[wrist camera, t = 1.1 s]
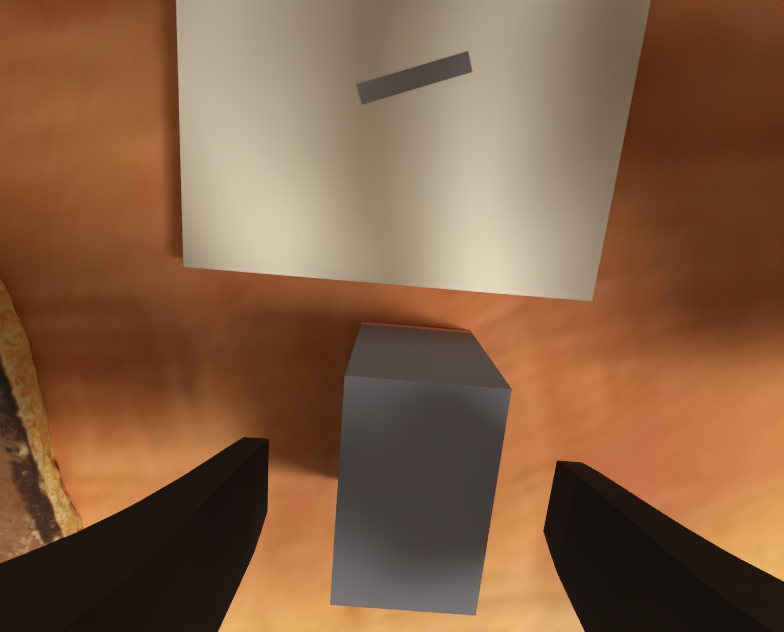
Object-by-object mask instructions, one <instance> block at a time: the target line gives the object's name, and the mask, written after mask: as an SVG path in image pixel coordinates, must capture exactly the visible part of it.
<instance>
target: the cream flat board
mask: <svg viewBox="0 0 784 632" xmlns="http://www.w3.org/2000/svg"><path fill="white" fill-rule="evenodd" d="M650 3H651V0H176V14H177V51H178V87H179V124H180V161H181V198H182V235H183V267H192V268H204V269H215V270H227V271H239V272H251V273H263V274H275V275H286V276H298V277H310V278H322V279H334V280H346V281H357V282H369V283H381V284H393V285H405V286H417V287H429V288H440V289H452V290H464V291H476V292H488V293H500V294H511V295H523V296H535V297H547V298H559V299H571V300H583V301H592V300H593V294H594V289H595V284H596V279H597V274H598V269H599V264H600V259H601V254H602V248H603V243H604V238H605V233H606V228H607V223H608V218H609V213H610V207H611V202H612V197H613V192H614V187H615V182H616V177H617V172H618V167H619V161H620V156H621V151H622V146H623V141H624V136H625V131H626V126H627V121H628V115H629V110H630V105H631V100H632V95H633V90H634V85H635V80H636V75H637V69H638V64H639V59H640V54H641V49H642V44H643V39H644V34H645V29H646V23H647V18H648V13H649V8H650Z"/></svg>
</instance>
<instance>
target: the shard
mask: <svg viewBox="0 0 784 632" xmlns="http://www.w3.org/2000/svg"><path fill="white" fill-rule="evenodd" d="M37 380H38V377H37V374H36V368H35V366H34V364H33V362H32V353H31V351H30V347H29V341H28V339H27V337H26V334H25V331H24V328H23V326H22V323H21V320H20V318H19V317H18V315H17V314H16V312H15V309H14V307H13V304H12V299H11V296H10V294H9V293H8V291H7V289H6V287H5V285H4V284H3V282H2V280H1V279H0V563H2V562H4V561H7V560H10V559H12V558H15V557H18V556H20V555H22V554H25V553H27V552H30V551H32V550H35V549H37V548H39V547H42V546H44V545H47V544H49V543H52V542H54V541H56V540H59V539H61V538H64V537H66V536H69V535H71V534H73V533H76V532H78V531H80V530H82V529H83V524H82V519H81V516H80V515H79V514H78V512H77V511H76V509H75V508H74V507H73V505H72V503H71V502H70V496H69V495H68V493H67V491H66V489H65V487H64V486H63V484H62V482H61V481H60V474H59V471H58V469H57V467H56V465H55V456H54V452H53V445H52V442H51V438H50V436H49V429H48V420H47V414H46V410H45V407H44V405H43V398H42V393H41V390H40V388H39V385H38V381H37Z"/></svg>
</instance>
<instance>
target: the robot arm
mask: <svg viewBox="0 0 784 632" xmlns="http://www.w3.org/2000/svg"><path fill="white" fill-rule="evenodd" d="M268 457H269V439H261V438H248V437H244V438H242V439H240V440H238V441H237V442H235V443H233V444H232V445H230V446H229V447H227V448H226V449H224V450H223V451H221V452H220V453H218V454H217V455H215V456H213V457H212V458H210V459H209V460H207V461H206V462H204V463H203V464H201V465H199V466H198V467H196V468H195V469H193V470H192V471H190V472H188V473H187V474H185V475H184V476H182V477H180V478H179V479H177V480H175V481H174V482H172V483H170V484H168V485H167V486H165V487H163V488H162V489H160V490H158V491H156V492H155V493H153V494H151V495H149V496H148V497H146V498H144V499H143V500H141V501H139V502H137V503H135V504H133V505H131V506H130V507H128V508H126V509H124V510H122V511H120V512H118V513H116V514H114V515H112V516H110V517H108V518H106V519H104V520H101V521H99V522H97V523H95V524H93V525H91V526H89V527H87V528H85V529H82V530H80V531H78V532H76V533H73V534H71V535H69V536H66V537H64V538H61V539H59V540H56V541H54V542H52V543H49V544H47V545H44V546H42V547H39V548H37V549H35V550H32V551H30V552H27V553H25V554H22V555H20V556H18V557H15V558H12V559H10V560H7V561H4V562H2V563H0V632H218V630H219V628H220V626H221V624H222V622H223V620H224V617H225V615H226V613H227V611H228V609H229V607H230V604H231V602H232V600H233V598H234V596H235V594H236V591H237V589H238V587H239V585H240V583H241V580H242V578H243V576H244V574H245V572H246V569H247V567H248V565H249V563H250V561H251V558H252V556H253V554H254V551H255V548H256V545H257V542H258V539H259V536H260V533H261V530H262V527H263V524H264V521H265V517H266V514H267V504H268ZM544 534H545V537H546V541H547V544H548V547H549V550H550V553H551V556H552V559H553V562H554V565H555V568H556V571H557V573H558V576H559V578H560V580H561V582H562V584H563V586H564V589H565V591H566V593H567V595H568V597H569V599H570V601H571V604H572V606H573V608H574V610H575V612H576V614H577V616H578V618H579V620H580V622H581V625H582V627H583V629H584V631H585V632H784V581H782V580H780V579H778V578H776V577H774V576H772V575H770V574H768V573H766V572H764V571H762V570H760V569H758V568H757V567H755V566H753V565H751V564H749V563H747V562H745V561H743V560H741V559H739V558H737V557H736V556H734V555H732V554H730V553H728V552H727V551H725V550H723V549H721V548H720V547H718V546H716V545H714V544H713V543H711V542H709V541H708V540H706V539H704V538H703V537H701V536H699V535H697V534H696V533H694V532H692V531H691V530H689V529H687V528H686V527H684V526H682V525H681V524H679V523H678V522H676V521H674V520H673V519H671V518H669V517H668V516H666V515H665V514H663V513H662V512H660V511H658V510H657V509H655V508H654V507H652V506H651V505H649V504H647V503H646V502H644V501H643V500H641V499H640V498H638V497H637V496H635V495H634V494H632V493H631V492H629V491H627V490H626V489H624V488H623V487H621V486H620V485H618V484H617V483H615V482H614V481H612V480H611V479H609V478H607V477H606V476H604V475H603V474H601V473H599V472H598V471H596V470H594V469H593V468H591V467H589V466H587V465H585V464H583V463H581V462H569V461H557V463H556V468H555V474H554V479H553V484H552V489H551V494H550V500H549V505H548V510H547V515H546V520H545V526H544Z"/></svg>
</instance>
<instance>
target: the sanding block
mask: <svg viewBox="0 0 784 632" xmlns="http://www.w3.org/2000/svg"><path fill="white" fill-rule="evenodd" d="M511 390H512V389H511V388H510V386H509V385H508V383H507V382H506V381H505V379H504V378H503V376H502V375H501V373H500V372H499V371H498V369H497V368H496V366H495V365H494V363H493V362H492V361H491V359H490V358H489V356H488V355H487V354H486V352H485V351H484V349H483V348H482V346H481V345H480V344H479V342H478V341H477V339H476V338H475V337H474V335H473V334H472V332H471V331H470V330H458V329H446V328H434V327H422V326H410V325H398V324H386V323H374V322H361V326H360V329H359V332H358V335H357V338H356V341H355V345H354V348H353V351H352V354H351V357H350V360H349V363H348V367H347V370H346V373H345V378H344V394H343V410H342V426H341V441H340V457H339V473H338V489H337V505H336V521H335V536H334V552H333V568H332V584H331V600H330V605H340V606H354V607H367V608H381V609H395V610H409V611H422V612H436V613H450V614H464V615H476V609H477V603H478V597H479V591H480V584H481V578H482V572H483V565H484V559H485V553H486V547H487V540H488V534H489V528H490V521H491V515H492V509H493V503H494V496H495V490H496V484H497V477H498V471H499V465H500V459H501V452H502V446H503V440H504V434H505V427H506V421H507V415H508V408H509V402H510V396H511Z"/></svg>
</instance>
